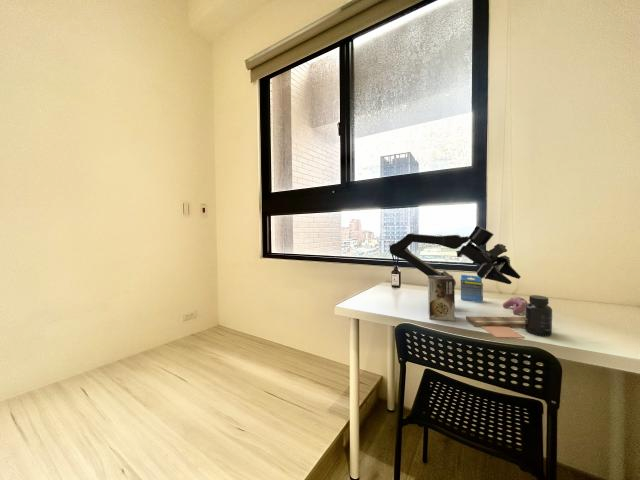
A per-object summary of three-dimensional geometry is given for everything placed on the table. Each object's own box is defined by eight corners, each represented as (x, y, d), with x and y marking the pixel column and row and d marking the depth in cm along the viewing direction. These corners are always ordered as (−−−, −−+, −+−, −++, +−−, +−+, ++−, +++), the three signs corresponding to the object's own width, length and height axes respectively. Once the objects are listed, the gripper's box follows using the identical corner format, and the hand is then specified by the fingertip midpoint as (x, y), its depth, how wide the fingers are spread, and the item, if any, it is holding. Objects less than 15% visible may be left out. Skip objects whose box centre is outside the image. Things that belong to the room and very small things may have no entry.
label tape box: (483, 301, 121) (483, 275, 121) (481, 303, 118) (481, 276, 118) (462, 298, 127) (462, 273, 126) (460, 300, 124) (460, 274, 123)
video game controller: (524, 319, 102) (534, 303, 101) (513, 313, 103) (522, 298, 102) (511, 311, 112) (519, 296, 111) (500, 305, 112) (509, 291, 111)
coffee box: (452, 315, 103) (452, 275, 102) (455, 321, 97) (455, 278, 96) (427, 313, 106) (427, 274, 105) (428, 319, 100) (428, 277, 99)
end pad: (496, 337, 83) (496, 336, 83) (481, 327, 91) (481, 326, 91) (524, 337, 82) (524, 337, 82) (507, 327, 90) (507, 326, 90)
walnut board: (474, 326, 92) (474, 322, 92) (465, 319, 99) (465, 316, 99) (547, 327, 89) (547, 323, 89) (533, 320, 96) (533, 316, 96)
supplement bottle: (519, 329, 89) (520, 294, 88) (538, 328, 89) (538, 293, 88) (538, 337, 82) (538, 300, 81) (557, 336, 82) (558, 299, 82)
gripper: (477, 242, 95) (521, 268, 86) (497, 236, 106) (538, 259, 97) (461, 265, 101) (500, 292, 91) (482, 257, 112) (519, 281, 102)
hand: (515, 280), depth 95 cm, fingers open, 9 cm apart
